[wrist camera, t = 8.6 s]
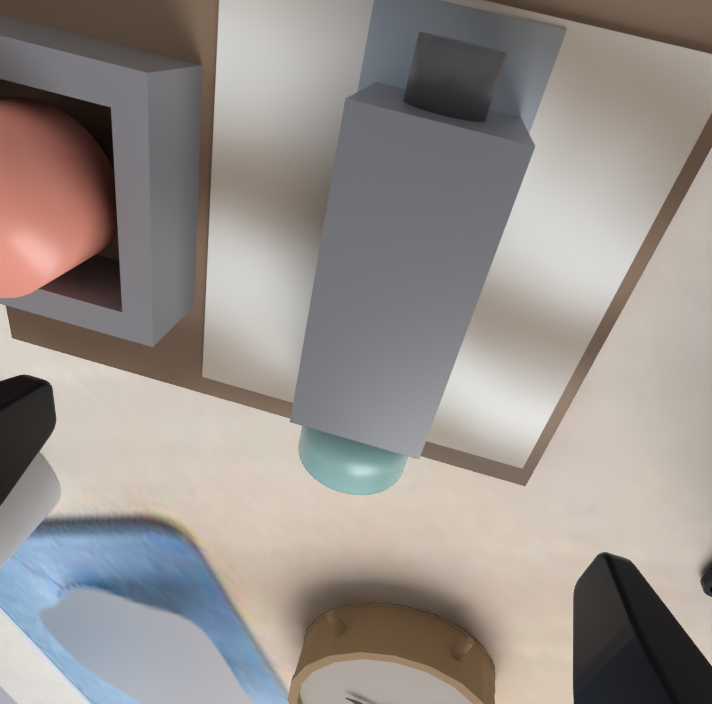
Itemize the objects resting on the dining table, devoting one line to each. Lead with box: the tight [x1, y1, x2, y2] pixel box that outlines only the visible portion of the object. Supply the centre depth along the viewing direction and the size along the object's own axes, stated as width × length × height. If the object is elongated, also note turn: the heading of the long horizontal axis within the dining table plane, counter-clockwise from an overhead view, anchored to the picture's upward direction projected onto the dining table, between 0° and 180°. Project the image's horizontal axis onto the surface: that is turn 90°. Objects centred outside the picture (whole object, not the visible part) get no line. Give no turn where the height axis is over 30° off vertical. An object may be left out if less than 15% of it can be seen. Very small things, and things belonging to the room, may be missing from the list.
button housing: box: [0, 15, 202, 347], centre depth 16 cm, size 8×8×3 cm
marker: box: [290, 32, 535, 495], centre depth 15 cm, size 13×4×4 cm, turn 169°
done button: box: [0, 97, 118, 298], centre depth 15 cm, size 5×5×3 cm
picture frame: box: [0, 0, 712, 486], centre depth 17 cm, size 16×22×1 cm
